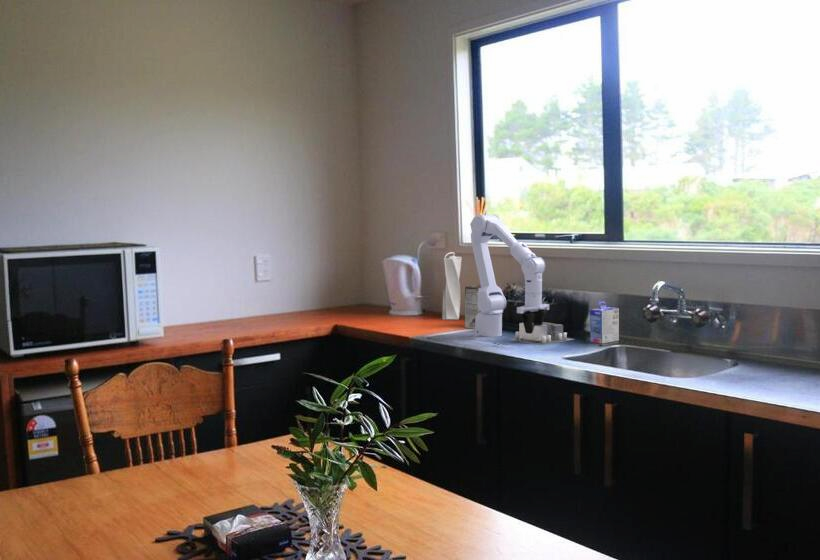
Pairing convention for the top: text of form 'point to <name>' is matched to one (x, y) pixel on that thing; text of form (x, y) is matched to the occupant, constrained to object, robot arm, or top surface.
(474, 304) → the coffee box
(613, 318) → the ink cartridge box
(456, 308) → the skyscraper
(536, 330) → the grey rectangular block
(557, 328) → the seated drive
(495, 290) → the robot arm
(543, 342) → the tray
